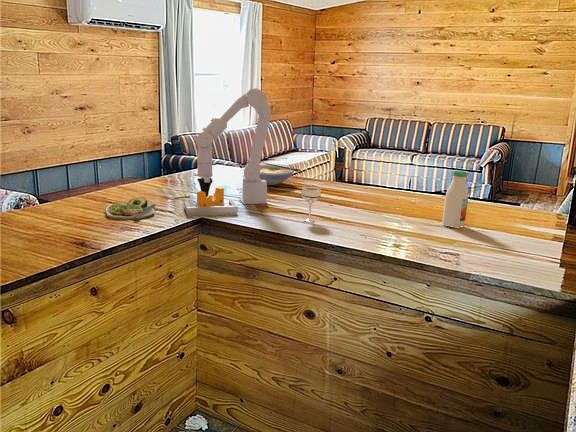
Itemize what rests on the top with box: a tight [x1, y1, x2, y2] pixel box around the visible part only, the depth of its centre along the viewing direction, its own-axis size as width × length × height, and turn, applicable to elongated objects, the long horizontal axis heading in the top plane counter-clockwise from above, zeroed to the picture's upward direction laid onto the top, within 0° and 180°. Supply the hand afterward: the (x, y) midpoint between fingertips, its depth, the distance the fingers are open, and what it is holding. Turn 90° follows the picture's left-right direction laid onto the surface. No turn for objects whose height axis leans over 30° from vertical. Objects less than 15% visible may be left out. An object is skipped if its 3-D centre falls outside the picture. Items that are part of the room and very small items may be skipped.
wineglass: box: [301, 185, 322, 221], centre depth 186 cm, size 7×7×12 cm
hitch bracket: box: [183, 199, 239, 217], centre depth 193 cm, size 18×12×3 cm, turn 106°
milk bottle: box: [442, 169, 469, 227], centre depth 186 cm, size 8×8×20 cm
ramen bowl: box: [259, 162, 302, 186], centre depth 243 cm, size 25×23×8 cm
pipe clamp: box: [196, 186, 225, 207], centre depth 201 cm, size 12×4×6 cm, turn 144°
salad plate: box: [105, 196, 157, 221], centre depth 185 cm, size 19×18×5 cm
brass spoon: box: [173, 194, 191, 200], centre depth 212 cm, size 6×2×1 cm, turn 126°
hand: (204, 196), depth 209 cm, fingers closed
